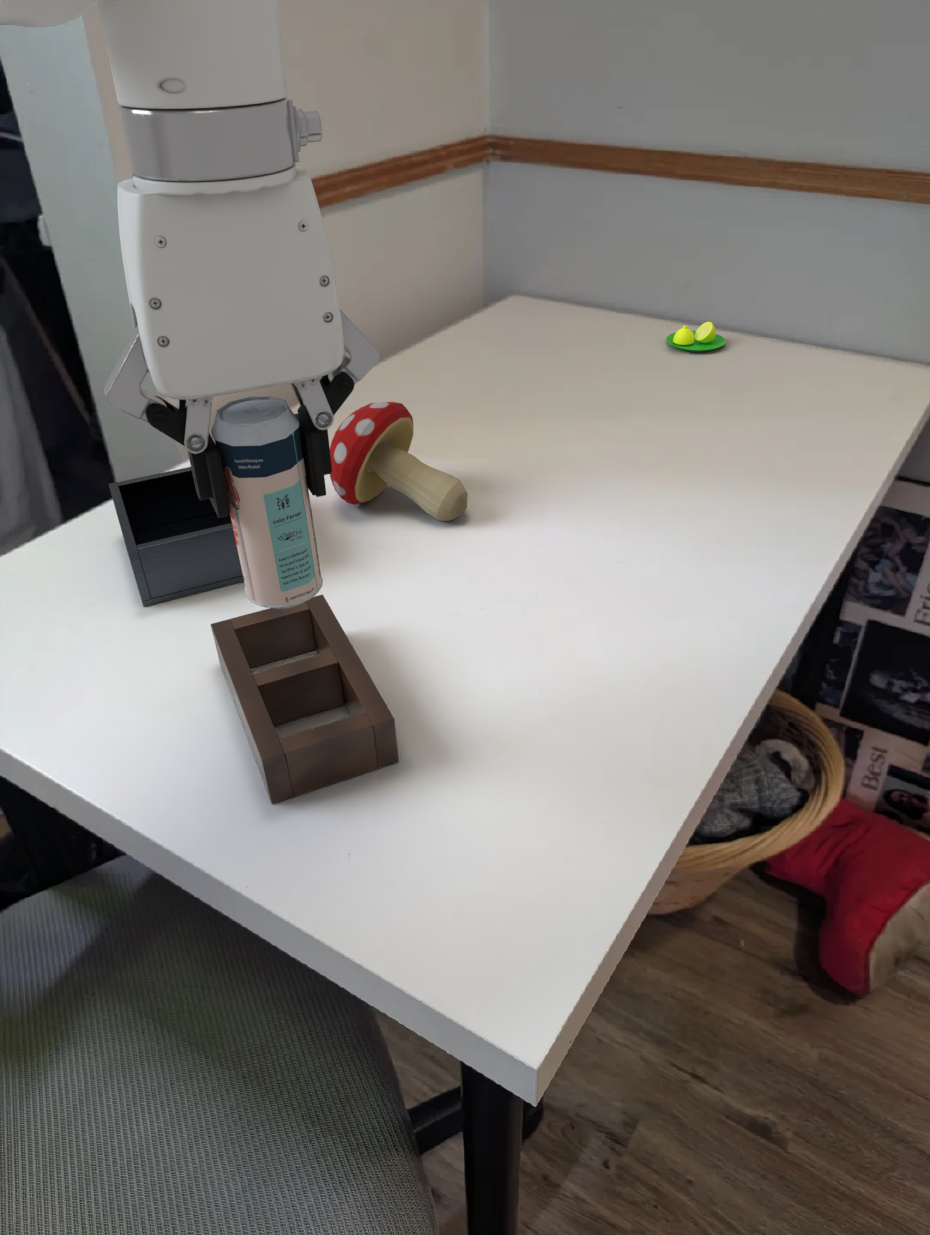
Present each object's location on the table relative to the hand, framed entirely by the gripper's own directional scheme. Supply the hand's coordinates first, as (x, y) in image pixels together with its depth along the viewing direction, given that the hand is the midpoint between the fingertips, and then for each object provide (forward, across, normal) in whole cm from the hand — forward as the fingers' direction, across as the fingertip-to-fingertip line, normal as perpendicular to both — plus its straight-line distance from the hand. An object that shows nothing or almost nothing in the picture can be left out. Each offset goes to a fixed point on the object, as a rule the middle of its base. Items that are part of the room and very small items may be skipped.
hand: (266, 493), depth 53 cm
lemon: (+18, -71, -54) cm, 91 cm away
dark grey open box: (+20, +1, -30) cm, 36 cm away
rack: (+20, -1, -4) cm, 20 cm away
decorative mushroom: (+19, -19, -30) cm, 40 cm away
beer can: (+7, 0, 0) cm, 7 cm away
